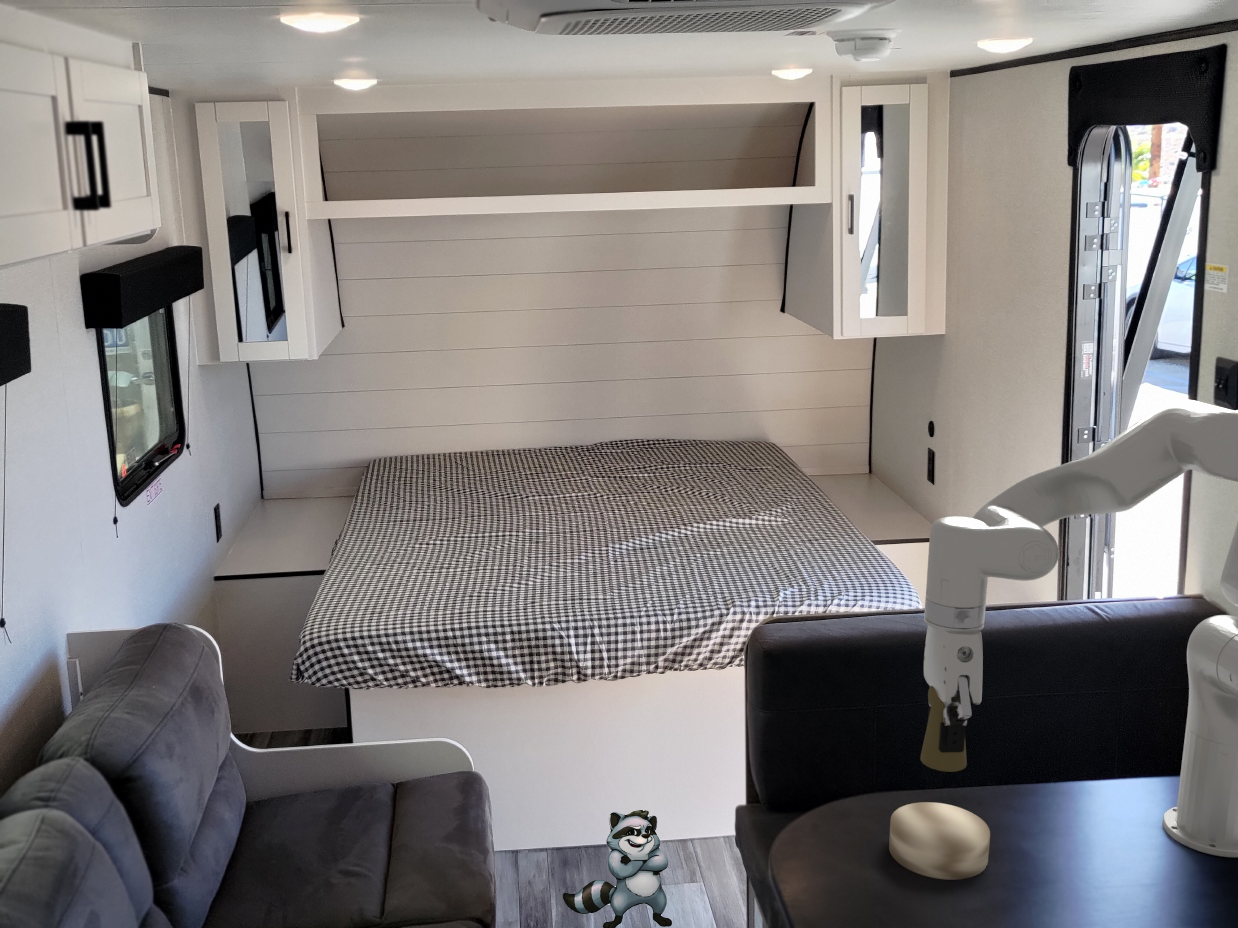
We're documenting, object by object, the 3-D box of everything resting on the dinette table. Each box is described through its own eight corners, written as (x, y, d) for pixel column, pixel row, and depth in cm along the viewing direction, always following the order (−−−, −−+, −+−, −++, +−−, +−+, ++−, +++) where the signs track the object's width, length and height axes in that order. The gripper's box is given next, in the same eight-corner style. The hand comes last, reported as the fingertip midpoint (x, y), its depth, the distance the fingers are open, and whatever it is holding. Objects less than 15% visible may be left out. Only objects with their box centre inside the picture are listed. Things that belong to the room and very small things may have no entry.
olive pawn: (962, 751, 157) (968, 675, 154) (971, 772, 151) (977, 694, 148) (916, 749, 157) (922, 673, 155) (923, 770, 151) (929, 691, 149)
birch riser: (968, 826, 163) (970, 800, 163) (1002, 878, 151) (1005, 850, 150) (877, 828, 163) (879, 802, 162) (904, 880, 150) (906, 852, 149)
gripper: (1007, 634, 142) (996, 772, 145) (960, 591, 158) (951, 716, 162) (947, 635, 141) (937, 773, 145) (907, 592, 158) (899, 716, 161)
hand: (945, 741), depth 153 cm, fingers closed on olive pawn, 4 cm apart
